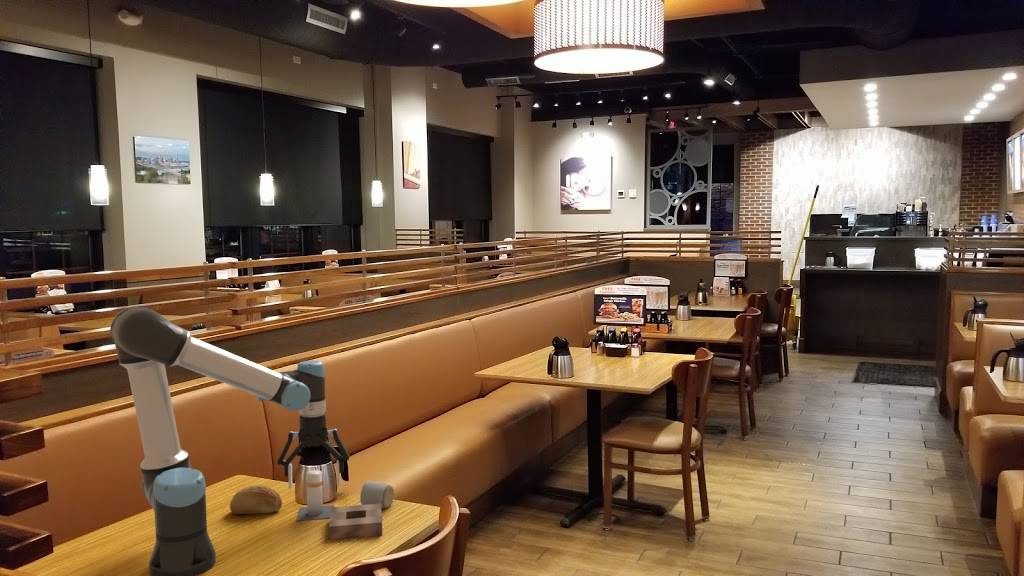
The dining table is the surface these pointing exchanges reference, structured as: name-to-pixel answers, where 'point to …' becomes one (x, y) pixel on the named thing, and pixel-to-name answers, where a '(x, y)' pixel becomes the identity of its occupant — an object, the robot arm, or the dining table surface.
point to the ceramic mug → (377, 494)
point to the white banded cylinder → (314, 492)
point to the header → (355, 522)
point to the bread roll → (255, 500)
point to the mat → (304, 515)
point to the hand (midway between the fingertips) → (314, 485)
